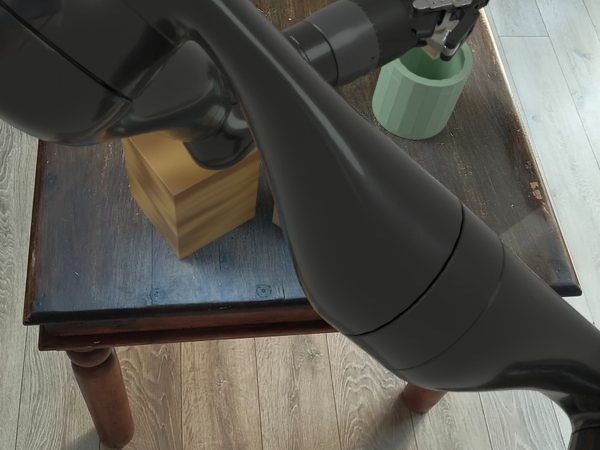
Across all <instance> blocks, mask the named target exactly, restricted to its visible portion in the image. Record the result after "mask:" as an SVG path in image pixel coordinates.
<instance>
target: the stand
mask: <svg viewBox="0 0 600 450" xmlns="http://www.w3.org/2000/svg"><path fill="white" fill-rule="evenodd" d="M120 140H121V146H122V151H123V156H124V162H125V167H126V172H127V178H128V183H129V188H130V194H131V197H132V198H133V200H134V201H135V203H136V204H137V206H139V208H140V209H141V210H142V212H143V213H144V215H145V216H146V217H147V218H148V220H149V221H150V223H151V224H152V225H153V226H154V228H155V229H156V231H157V232H158V233H159V235H160V236H161V237H162V239H163V240H164V241H165V243H166V244H167V246H169V249H171V251H172V252H173V253H174V256H176V258H177V259H178V260H179V261H181V260H183V259H185V258H187V257H188V256H190V255H192V254H193V253H195V252H197V251H198V250H200V249H202V248H203V247H205V246H207V245H209V244H210V243H212V242H214V241H215V240H217V239H219V238H221V237H222V236H224V235H226V234H227V233H229V232H231V231H232V230H234V229H236V228H237V227H240V226H242V224H244V223H246V222H247V221H249V220H251V219H253V218H255V216H256V206H257V196H258V187H259V186H258V185H259V177H260V167H261V157H260V155H259V152H258V150H257V147H255V148H254V149H253V150H252V151H251V152H250V153H249V154H248V155H247V156H246V157H245V158H244V159H243V160H242V161H240V162H239V163H237V164H236V165H234V166H232V167H230V168H227V169H224V170H206V169H203V168H201V167H199V166H198V165H197V164H195V162H194V161H193V160H192V159H191V157H190V156H189V154H188V152H187V151H186V149H185V147H184V146H183V144H182V142H181V141H176V140H173V139H169V138H167V137H164V136H161V135H158V134H155V133H149V134H143V135H138V136H134V137H129V138H124V139H120Z"/></svg>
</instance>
